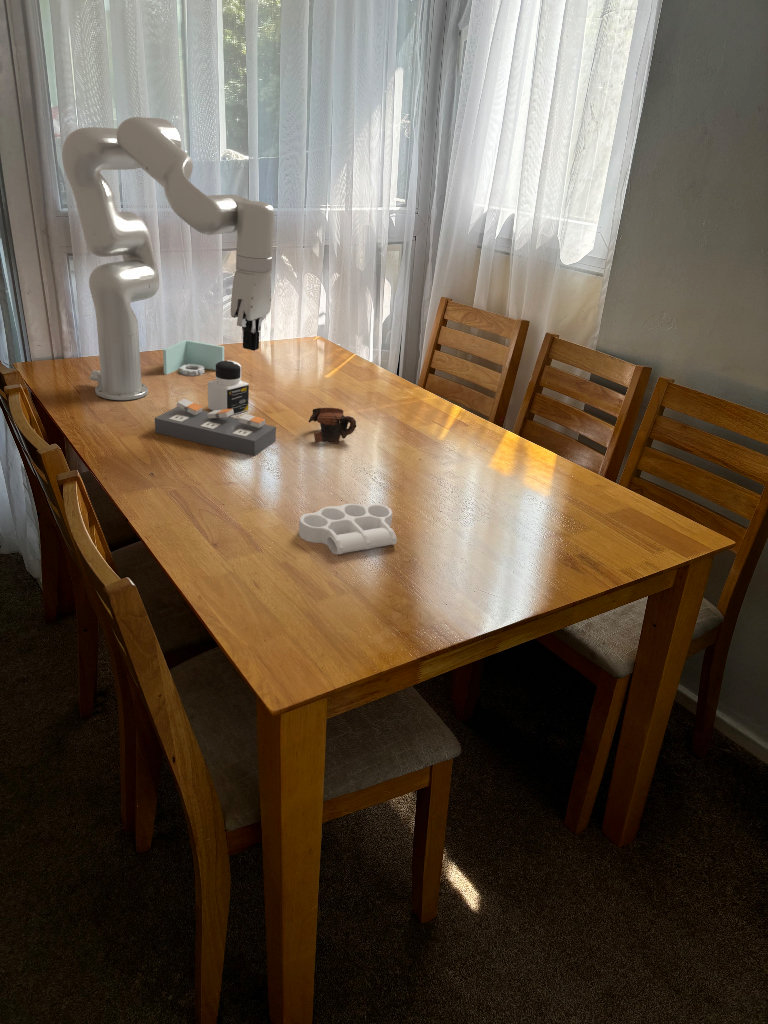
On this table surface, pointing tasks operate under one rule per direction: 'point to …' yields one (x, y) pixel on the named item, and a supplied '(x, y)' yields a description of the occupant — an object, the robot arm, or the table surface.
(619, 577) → the table surface
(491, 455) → the table surface
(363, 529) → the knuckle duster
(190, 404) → the rocker
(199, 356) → the right angle wall
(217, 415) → the rocker
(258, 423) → the rocker
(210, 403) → the medicine bottle
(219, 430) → the power strip
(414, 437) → the table surface
